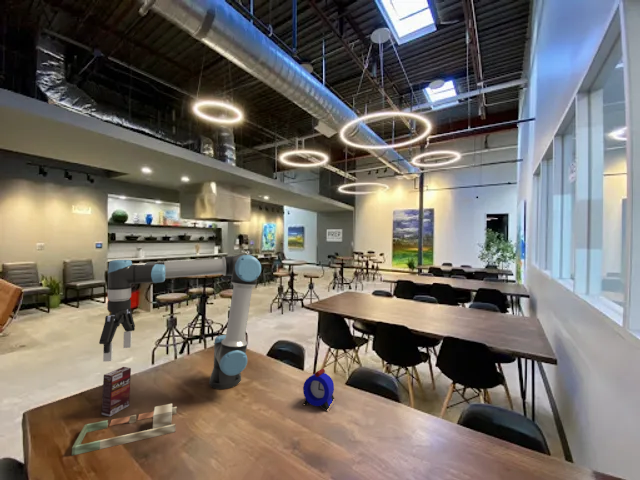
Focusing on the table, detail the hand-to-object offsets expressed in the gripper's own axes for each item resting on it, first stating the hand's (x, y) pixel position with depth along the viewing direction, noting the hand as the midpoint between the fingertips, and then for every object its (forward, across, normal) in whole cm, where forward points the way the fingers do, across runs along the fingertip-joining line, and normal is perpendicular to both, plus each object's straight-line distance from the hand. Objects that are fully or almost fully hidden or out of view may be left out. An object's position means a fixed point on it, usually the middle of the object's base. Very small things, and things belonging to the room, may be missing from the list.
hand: (118, 353), depth 111 cm
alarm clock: (+27, -4, +81) cm, 85 cm away
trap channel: (+25, +6, +8) cm, 27 cm away
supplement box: (+26, -7, -4) cm, 27 cm away
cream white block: (+26, +5, +19) cm, 32 cm away
